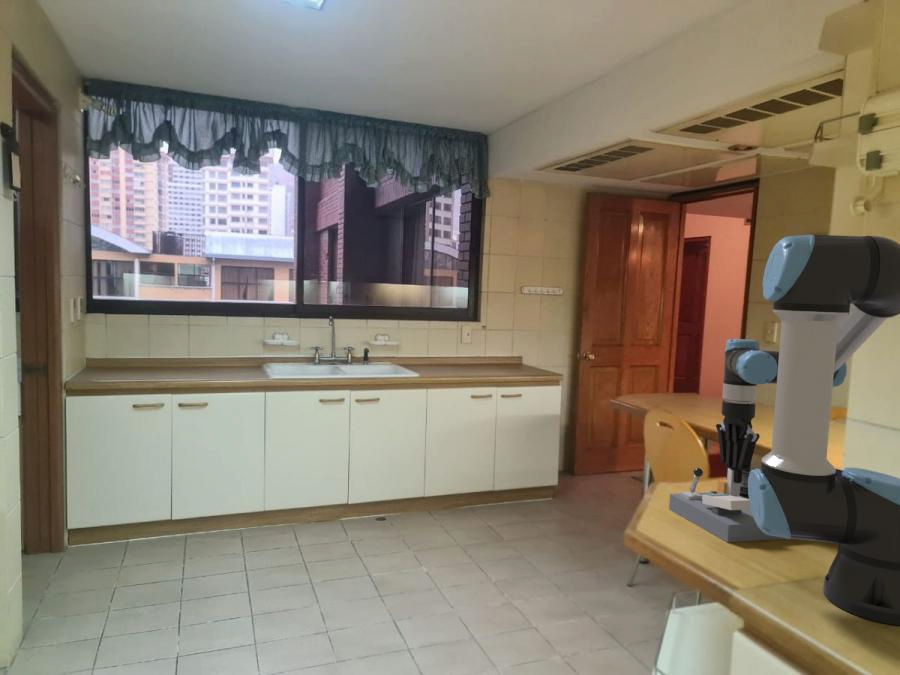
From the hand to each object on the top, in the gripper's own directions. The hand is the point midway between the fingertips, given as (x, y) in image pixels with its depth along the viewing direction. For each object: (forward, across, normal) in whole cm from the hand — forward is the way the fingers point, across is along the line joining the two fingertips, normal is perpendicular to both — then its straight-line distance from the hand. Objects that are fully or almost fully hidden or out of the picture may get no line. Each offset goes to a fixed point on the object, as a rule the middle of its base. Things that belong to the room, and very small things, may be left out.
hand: (732, 494), depth 150 cm
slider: (+2, +2, 0) cm, 2 cm away
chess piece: (+6, +14, -15) cm, 21 cm away
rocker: (-1, -8, +8) cm, 12 cm away
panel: (+6, -4, +4) cm, 8 cm away
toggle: (+1, +4, +9) cm, 10 cm away
